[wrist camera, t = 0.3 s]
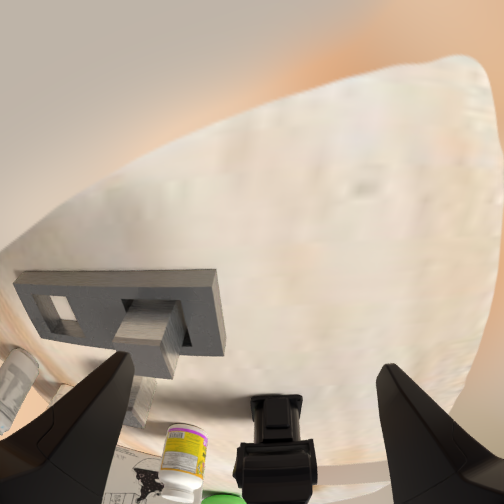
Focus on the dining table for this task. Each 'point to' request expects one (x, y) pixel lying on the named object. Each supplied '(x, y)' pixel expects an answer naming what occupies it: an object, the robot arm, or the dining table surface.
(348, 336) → the dining table surface
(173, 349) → the grey metal rectangular block
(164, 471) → the supplement bottle
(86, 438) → the robot arm
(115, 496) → the cereal box
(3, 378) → the energy drink can
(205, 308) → the rail
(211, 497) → the toy bird
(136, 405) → the brushed grey metal block
